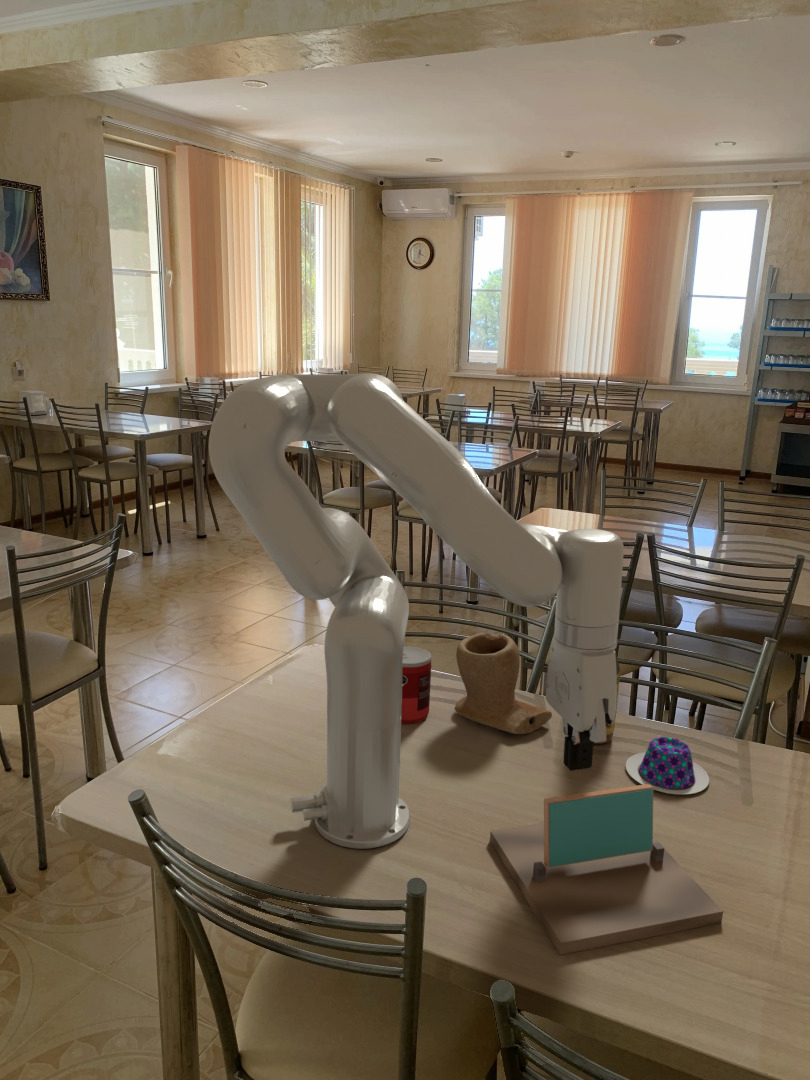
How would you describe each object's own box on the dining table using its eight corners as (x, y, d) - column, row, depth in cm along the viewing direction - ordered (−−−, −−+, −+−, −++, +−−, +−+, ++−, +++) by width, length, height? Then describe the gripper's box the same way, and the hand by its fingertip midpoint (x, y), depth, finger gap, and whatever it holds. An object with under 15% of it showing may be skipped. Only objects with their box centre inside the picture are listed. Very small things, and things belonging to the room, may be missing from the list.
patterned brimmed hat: (619, 752, 127) (622, 722, 125) (697, 759, 126) (701, 728, 124) (632, 795, 115) (636, 762, 114) (718, 802, 114) (723, 769, 113)
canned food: (376, 706, 139) (378, 647, 136) (420, 701, 141) (423, 643, 138) (389, 727, 132) (391, 665, 129) (435, 722, 134) (438, 661, 131)
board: (489, 840, 103) (491, 818, 102) (627, 819, 109) (629, 798, 108) (560, 954, 85) (562, 928, 84) (721, 922, 90) (725, 897, 89)
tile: (543, 798, 94) (548, 802, 93) (648, 783, 98) (654, 787, 97) (543, 864, 95) (548, 868, 94) (647, 846, 99) (653, 851, 98)
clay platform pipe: (438, 719, 135) (442, 636, 131) (478, 697, 144) (483, 618, 140) (514, 751, 126) (521, 662, 122) (553, 725, 134) (560, 641, 131)
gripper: (531, 613, 103) (525, 742, 108) (588, 658, 90) (579, 803, 94) (583, 608, 105) (575, 734, 110) (647, 650, 92) (635, 793, 96)
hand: (577, 765), depth 102 cm, fingers closed
